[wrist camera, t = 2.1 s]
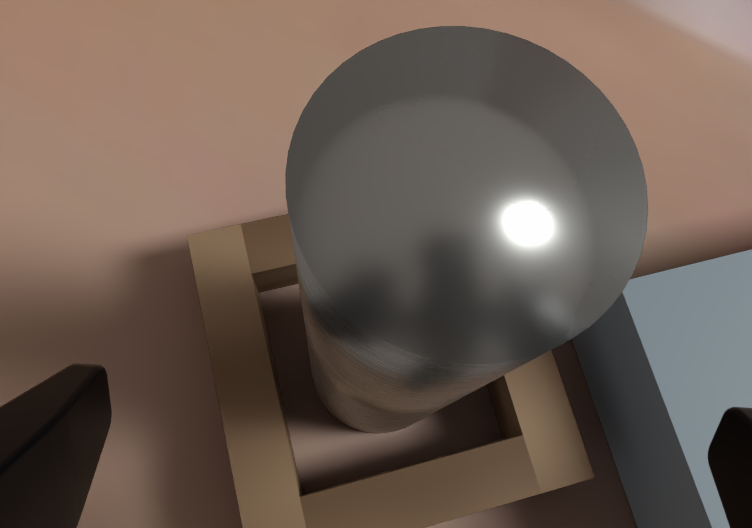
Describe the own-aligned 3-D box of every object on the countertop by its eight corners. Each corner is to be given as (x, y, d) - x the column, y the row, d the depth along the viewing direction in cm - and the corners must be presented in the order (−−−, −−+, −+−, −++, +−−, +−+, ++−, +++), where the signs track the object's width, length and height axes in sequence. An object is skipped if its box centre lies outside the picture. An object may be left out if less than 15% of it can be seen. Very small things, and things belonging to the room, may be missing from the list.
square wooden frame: (567, 476, 19) (594, 477, 17) (260, 566, 18) (252, 577, 16) (475, 197, 21) (490, 170, 19) (200, 257, 20) (187, 235, 18)
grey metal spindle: (461, 413, 19) (704, 311, 7) (328, 449, 19) (334, 407, 6) (424, 286, 20) (575, 1, 8) (297, 316, 20) (251, 59, 7)
